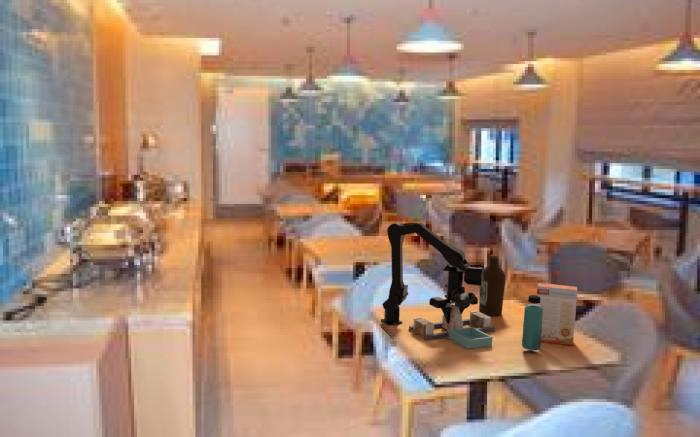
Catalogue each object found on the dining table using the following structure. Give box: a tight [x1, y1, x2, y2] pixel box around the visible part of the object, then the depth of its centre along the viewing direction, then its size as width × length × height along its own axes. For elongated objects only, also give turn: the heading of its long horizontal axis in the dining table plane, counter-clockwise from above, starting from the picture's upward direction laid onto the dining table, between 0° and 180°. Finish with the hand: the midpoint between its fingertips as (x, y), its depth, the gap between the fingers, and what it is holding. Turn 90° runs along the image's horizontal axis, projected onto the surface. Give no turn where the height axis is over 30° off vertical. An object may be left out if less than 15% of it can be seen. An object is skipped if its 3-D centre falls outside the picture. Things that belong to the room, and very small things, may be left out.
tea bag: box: [442, 303, 463, 332], centre depth 242 cm, size 4×7×10 cm, turn 24°
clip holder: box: [408, 310, 496, 341], centre depth 242 cm, size 13×31×5 cm, turn 116°
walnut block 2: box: [470, 311, 490, 328], centre depth 248 cm, size 6×4×5 cm, turn 26°
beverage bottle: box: [521, 294, 543, 351], centre depth 221 cm, size 6×7×20 cm
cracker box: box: [535, 282, 578, 346], centre depth 233 cm, size 14×6×21 cm, turn 71°
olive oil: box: [478, 253, 507, 317], centre depth 266 cm, size 11×11×25 cm
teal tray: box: [447, 326, 493, 351], centre depth 229 cm, size 12×10×4 cm
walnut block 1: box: [413, 318, 434, 338], centre depth 236 cm, size 6×4×5 cm, turn 26°
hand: (452, 322), depth 242 cm, fingers closed on tea bag, 4 cm apart
